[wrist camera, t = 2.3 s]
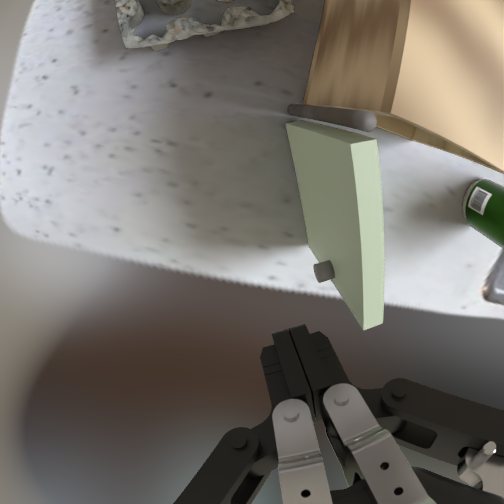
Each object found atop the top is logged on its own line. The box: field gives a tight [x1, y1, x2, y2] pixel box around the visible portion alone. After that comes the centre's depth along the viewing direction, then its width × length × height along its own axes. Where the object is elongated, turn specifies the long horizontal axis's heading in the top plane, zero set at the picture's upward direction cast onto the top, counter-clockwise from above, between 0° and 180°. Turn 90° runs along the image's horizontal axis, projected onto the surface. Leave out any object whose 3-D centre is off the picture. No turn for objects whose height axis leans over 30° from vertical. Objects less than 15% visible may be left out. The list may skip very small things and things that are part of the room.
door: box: [285, 120, 384, 330], centre depth 18 cm, size 2×10×10 cm, turn 13°
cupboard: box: [287, 0, 504, 174], centre depth 14 cm, size 11×11×11 cm
